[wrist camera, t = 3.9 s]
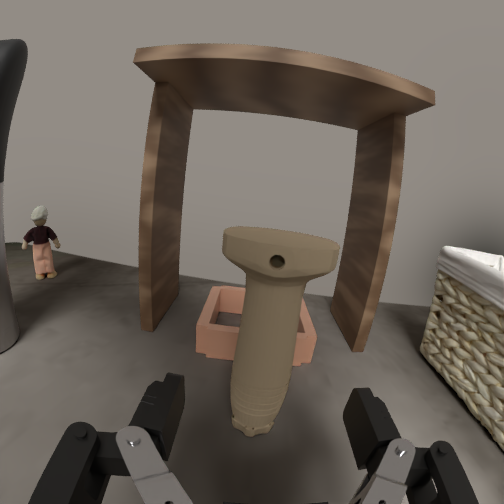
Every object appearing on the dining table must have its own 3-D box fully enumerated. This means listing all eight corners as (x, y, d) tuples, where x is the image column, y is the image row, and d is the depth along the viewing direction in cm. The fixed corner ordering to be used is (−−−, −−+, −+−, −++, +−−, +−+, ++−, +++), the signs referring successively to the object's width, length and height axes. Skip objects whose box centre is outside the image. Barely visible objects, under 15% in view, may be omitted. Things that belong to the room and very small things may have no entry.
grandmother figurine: (59, 270, 43) (57, 203, 40) (63, 276, 41) (60, 205, 38) (24, 276, 37) (19, 206, 34) (26, 283, 35) (20, 208, 32)
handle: (219, 397, 22) (234, 223, 18) (293, 410, 21) (333, 237, 17) (204, 436, 17) (213, 236, 13) (290, 452, 16) (346, 255, 13)
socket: (194, 355, 27) (195, 327, 27) (211, 306, 39) (213, 284, 39) (311, 366, 27) (318, 339, 27) (297, 315, 39) (301, 293, 39)
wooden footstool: (121, 356, 25) (136, 48, 18) (169, 292, 42) (184, 99, 35) (379, 381, 25) (434, 91, 18) (338, 310, 42) (367, 123, 35)
